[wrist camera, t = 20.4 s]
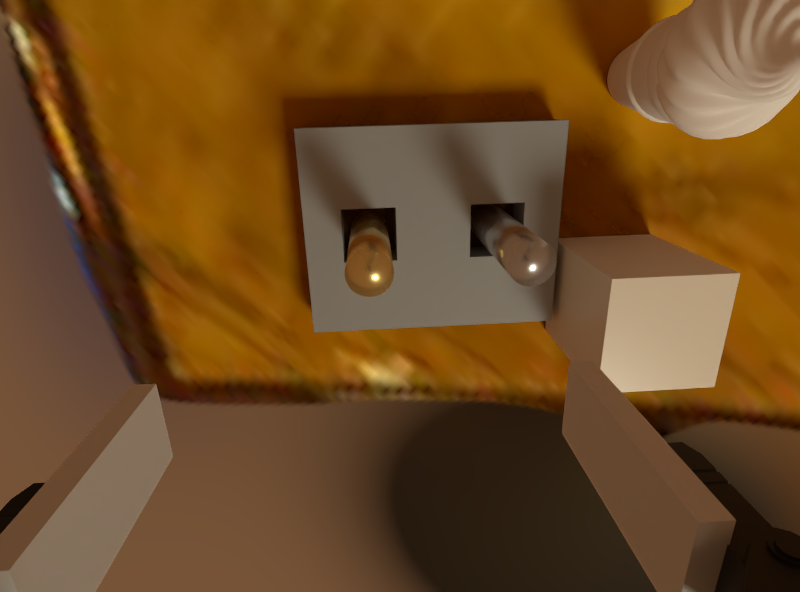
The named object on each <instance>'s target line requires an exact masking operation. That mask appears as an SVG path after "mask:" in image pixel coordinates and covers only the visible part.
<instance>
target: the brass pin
mask: <svg viewBox="0 0 800 592" xmlns="http://www.w3.org/2000/svg"><path fill="white" fill-rule="evenodd" d="M345 279H346V282H347V284H348V286H349V287H350V289H351V290H353V291H354V292H355V293H357V294H359V295H361V296H365V297H374V296H378V295H380V294H382V293H384V292H385V291H386V290H387V289H388V288H389V287H390V286H391V284H392V282H393V279H394V267H393V261H392V254H391V248H390V241H389V235H388V228H387V224H386V221H385V220H384V218H383V217H382V216H381V215H379V214H378V213H375V212H369V211H368V212H363V213H361V214H359V215H358V216H357V217H356V218H355V219H354V221H353V223H352V228H351V234H350V240H349V247H348V253H347V259H346V266H345Z"/></svg>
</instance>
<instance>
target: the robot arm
mask: <svg viewBox="0 0 800 592" xmlns="http://www.w3.org/2000/svg"><path fill="white" fill-rule="evenodd" d="M562 434H563V436H564V437H565V439H566V441H567V442H568V444H569V445H570V447H571V449H572V450H573V452H574V454H575V456H576V457H577V459H578V461H579V462H580V464H581V466H582V467H583V469H584V471H585V472H586V474H587V476H588V477H589V479H590V480H591V482H592V484H593V485H594V487H595V489H596V491H597V492H598V494H599V496H600V497H601V499H602V501H603V502H604V504H605V506H606V507H607V509H608V510H609V512H610V514H611V515H612V517H613V519H614V520H615V522H616V524H617V525H618V527H619V529H620V531H621V532H622V534H623V535H624V537H625V539H626V540H627V542H628V543H629V545H630V547H631V549H632V551H633V552H634V554H635V556H636V557H637V559H638V561H639V562H640V564H641V566H642V567H643V569H644V571H645V572H646V574H647V575H648V577H649V579H650V581H651V582H652V584H653V585H654V587H655V589H656V590H657V592H800V536H799V535H797V534H794V533H792V532H790V531H786V530H783V529H779V528H773V527H772V526H771V525H770V524H769V523H768V522H767V521H766V520H765V519H764V518H763V517H762V516H761V515H760V514H759V513H758V512H757V511H756V510H755V509H754V508H753V506H752V505H751V504H750V503H748V501H747V500H746V499H745V498H744V497H743V496H742V495H741V494H740V493H739V492H738V491H737V490H736V489H735V488H734V487H733V486H732V485H731V484H728V481H727V480H726V479H725V478H724V477H723V476H722V475H721V474H720V473H719V472H717V471H716V469H715V468H714V466H713V465H712V464H711V463H710V462H709V461H708V460H707V459H706V458H705V457H704V456H703V455H702V454H700V453H699V452H697V451H696V450H694V449H692V448H691V447H689V446H687V445H686V444H684V443H683V442H676V443H666V441H665V440H664V439H663V438H662V437H661V436H660V435H659V434H658V433H657V431H656V430H655V429H654V428H653V427H652V426H651V425H650V424H649V423H648V421H647V420H646V419H645V418H644V417H643V416H642V415H641V414H640V413H639V411H638V410H637V409H636V408H635V407H634V406H633V405H632V404H631V403H630V401H629V400H628V399H627V398H626V397H625V396H624V395H623V394H622V393H621V391H620V390H619V389H618V388H617V387H616V386H615V385H614V384H613V383H612V381H611V380H610V379H609V378H608V377H607V376H606V375H605V374H604V373H603V371H602V370H601V369H600V368H599V367H598V366H597V365H596V364H595V362H594V361H593V360H592V361H573V362H569V371H568V380H567V390H566V399H565V409H564V418H563V427H562ZM172 457H173V454H172V449H171V445H170V441H169V437H168V433H167V428H166V424H165V420H164V415H163V411H162V407H161V403H160V398H159V394H158V390H157V386H156V384H144V385H131V386H130V387H129V388H128V389H127V390H126V392H125V393H124V394H123V395H122V396H121V397H120V398H119V399H118V401H117V402H116V403H115V404H114V405H113V406H112V408H111V409H110V410H109V411H108V412H107V413H106V414H105V415H104V417H103V418H102V419H101V420H100V421H99V422H98V423H97V425H96V426H95V427H94V428H93V429H92V430H91V431H90V433H89V434H88V435H87V436H86V437H85V438H84V439H83V441H82V442H81V443H80V444H79V445H78V446H77V447H76V449H75V450H74V451H73V452H72V453H71V454H70V455H69V457H68V458H67V459H66V460H65V461H64V462H63V464H62V465H61V466H60V467H59V468H58V469H57V470H56V471H55V472H54V474H53V475H52V476H51V477H50V478H49V479H48V481H47V482H46V483H34V484H32V485H31V486H29V487H28V488H27V489H25V490H24V491H22V492H21V493H20V494H18V495H16V496H15V497H14V498H12V499H11V500H10V501H9V502H8V503H7V504H6V505H5V506H4V507H3V509H2V510H1V511H0V592H96V590H97V588H98V586H99V585H100V583H101V581H102V579H103V578H104V576H105V574H106V573H107V571H108V569H109V567H110V565H111V564H112V562H113V560H114V559H115V557H116V555H117V553H118V552H119V550H120V548H121V546H122V544H123V543H124V541H125V539H126V537H127V536H128V534H129V532H130V530H131V529H132V527H133V525H134V524H135V522H136V520H137V518H138V517H139V515H140V513H141V511H142V510H143V508H144V506H145V504H146V503H147V501H148V499H149V497H150V496H151V494H152V492H153V490H154V489H155V487H156V485H157V483H158V482H159V480H160V478H161V477H162V475H163V473H164V471H165V469H166V468H167V466H168V464H169V463H170V461H171V459H172Z"/></svg>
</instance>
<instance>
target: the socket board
mask: <svg viewBox="0 0 800 592" xmlns="http://www.w3.org/2000/svg"><path fill="white" fill-rule="evenodd" d="M568 126H569V120H525V121H493V122H461V123H429V124H397V125H366V126H334V127H302V128H295V129H294V136H295V146H296V156H297V166H298V176H299V186H300V196H301V206H302V216H303V226H304V237H305V247H306V257H307V267H308V277H309V287H310V297H311V307H312V317H313V327H314V332H332V331H352V330H372V329H392V328H413V327H433V326H453V325H473V324H493V323H513V322H533V321H551V318H552V307H553V295H554V284H555V273H556V268H555V270H554V272H553V274H552V275H551V277H550V278H549V279H548V280H547V281H545V282H544V283H542V284H540V285H537V286H532V287H528V286H523V285H520V284H518V283H517V282H515V281H514V280H513V278H512V277H511V276H510V275H509V274H508V273H507V271H506V270H505V269H504V268H503V267H502V266H501V264H500V263H499V262H498V261H497V260H496V259H495V257H494V256H493V255H492V254H491V253H490V252H489V250H488V249H487V248H486V247H470V226H471V205H472V204H498V203H514V209H513V218H514V219H515V220H517V221H518V222H520V223H521V224H522V225H524V226H525V227H526V228H528V229H529V230H530V231H532V232H533V233H534V234H536V235H537V236H538V237H540V238H541V239H543V240H544V241H545V242H547V243H548V244H549V245H550V246H551V247H552V248H553V249H554V251H555V253H556V258H557V250H558V239H559V228H560V216H561V205H562V194H563V182H564V171H565V160H566V149H567V137H568ZM369 208H394V221H395V250H393V251H391V254H392V261H393V267H394V279H393V282H392V284H391V286H390V287H389V288H388V289H387V290H386V291H385V292H384V293H382V294H380V295H378V296H374V297H365V296H361V295H359V294H357V293H355V292H354V291H353V290H351V289H350V287H349V286H348V284H347V282H346V279H345V266H346V259H347V253H348V252H346V246H345V232H344V217H343V209H369Z"/></svg>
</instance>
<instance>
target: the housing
mask: <svg viewBox="0 0 800 592" xmlns="http://www.w3.org/2000/svg"><path fill="white" fill-rule="evenodd" d="M739 277H740V273H739V272H737V271H734V270H732V269H730V268H727V267H725V266H723V265H720V264H718V263H716V262H713V261H711V260H709V259H706V258H704V257H702V256H700V255H697V254H695V253H693V252H690V251H688V250H686V249H683V248H681V247H679V246H676V245H674V244H672V243H670V242H667V241H665V240H663V239H660V238H658V237H656V236H653V235H651V234H644V235H620V236H596V237H572V238H559V239H558V250H557V263H556V273H555V284H554V295H553V307H552V318H551V321H546V325H545V330H546V331H547V332H548V334H549V335H550V336H551V337H552V339H553V340H554V341H555V342H556V343H557V345H558V346H559V347H560V348H561V350H562V351H563V352H564V353H565V355H566V356H567V357H568V358H569V360H570V361H571V362H573V361H592V360H593V361H594V362H595V364H596V365H597V366H598V367H599V368H600V369H601V370H602V371H603V373H604V374H605V375H606V376H607V377H608V378H609V379H610V380H611V381H612V383H613V384H614V385H615V386H616V387H617V388H618V389H619V390H620V391H621V392H635V391H652V390H670V389H687V388H705V387H714V386H715V382H716V377H717V373H718V369H719V364H720V360H721V356H722V351H723V347H724V342H725V338H726V334H727V329H728V325H729V321H730V316H731V312H732V308H733V303H734V299H735V295H736V290H737V286H738V281H739Z"/></svg>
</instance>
